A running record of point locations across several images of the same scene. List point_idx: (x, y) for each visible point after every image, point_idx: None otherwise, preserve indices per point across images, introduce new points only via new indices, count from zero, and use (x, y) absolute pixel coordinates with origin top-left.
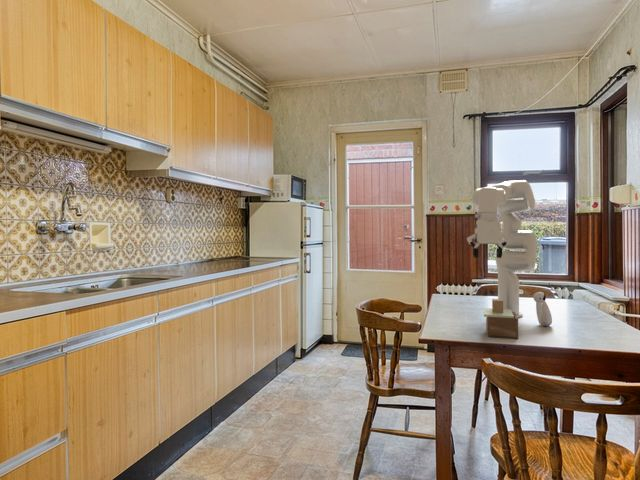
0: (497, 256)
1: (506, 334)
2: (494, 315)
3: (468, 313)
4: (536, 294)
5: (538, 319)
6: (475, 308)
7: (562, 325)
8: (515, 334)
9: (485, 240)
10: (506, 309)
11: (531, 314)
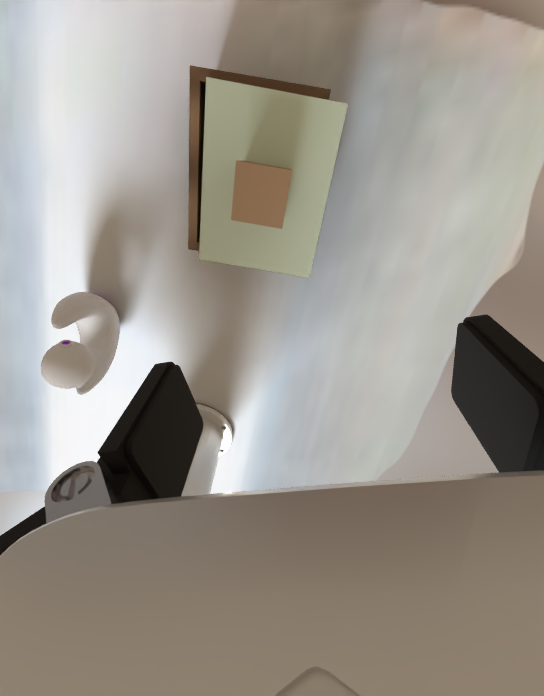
0: (194, 414)
1: None
2: (297, 94)
3: (303, 444)
4: (72, 364)
5: (116, 331)
6: None
7: None
8: None
9: (529, 574)
10: (217, 258)
11: None
